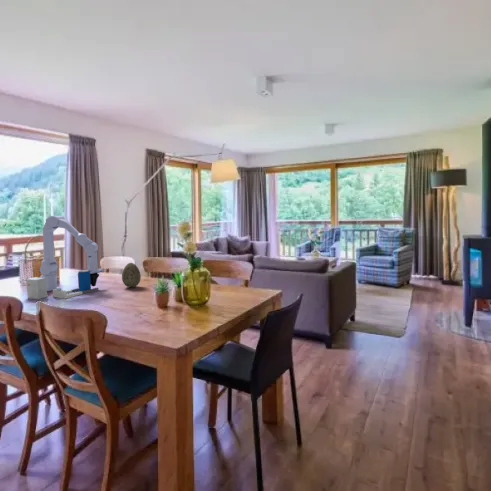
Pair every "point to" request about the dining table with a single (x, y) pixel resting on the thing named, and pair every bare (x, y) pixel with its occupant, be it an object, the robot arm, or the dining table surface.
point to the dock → (62, 293)
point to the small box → (36, 288)
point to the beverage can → (84, 280)
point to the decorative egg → (131, 275)
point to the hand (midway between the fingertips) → (93, 286)
